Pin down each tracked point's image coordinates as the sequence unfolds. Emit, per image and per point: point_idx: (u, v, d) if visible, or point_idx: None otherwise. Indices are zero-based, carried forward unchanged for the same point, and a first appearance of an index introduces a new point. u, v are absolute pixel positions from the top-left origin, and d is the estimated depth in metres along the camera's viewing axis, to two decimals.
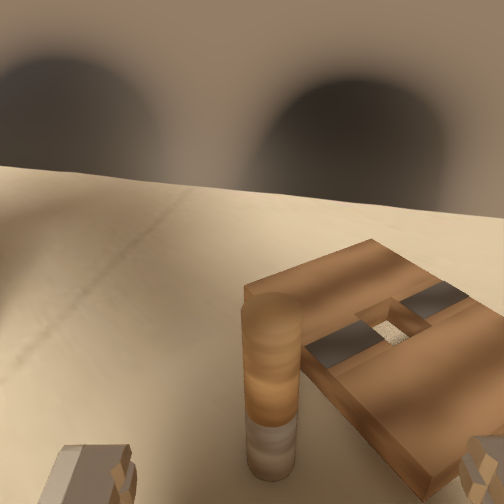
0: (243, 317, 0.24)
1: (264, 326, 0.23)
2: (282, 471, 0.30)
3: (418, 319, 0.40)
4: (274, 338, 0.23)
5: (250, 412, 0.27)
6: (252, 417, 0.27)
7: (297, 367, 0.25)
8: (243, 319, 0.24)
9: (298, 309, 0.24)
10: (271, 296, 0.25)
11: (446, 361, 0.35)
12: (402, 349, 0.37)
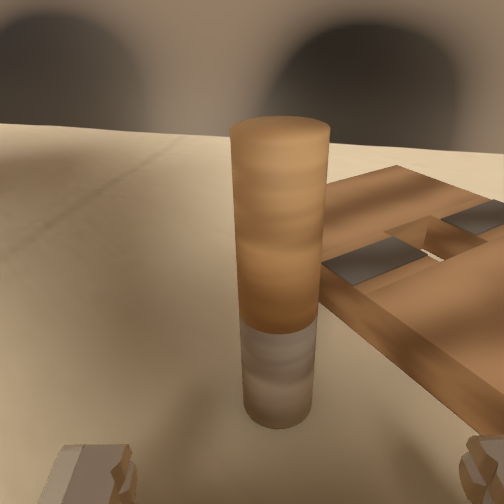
0: (233, 132, 0.15)
1: (267, 138, 0.14)
2: (294, 413, 0.20)
3: (467, 237, 0.31)
4: (283, 156, 0.14)
5: (246, 313, 0.18)
6: (249, 321, 0.18)
7: (319, 228, 0.16)
8: (233, 135, 0.15)
9: (321, 126, 0.15)
10: (278, 118, 0.16)
11: None
12: (453, 265, 0.27)
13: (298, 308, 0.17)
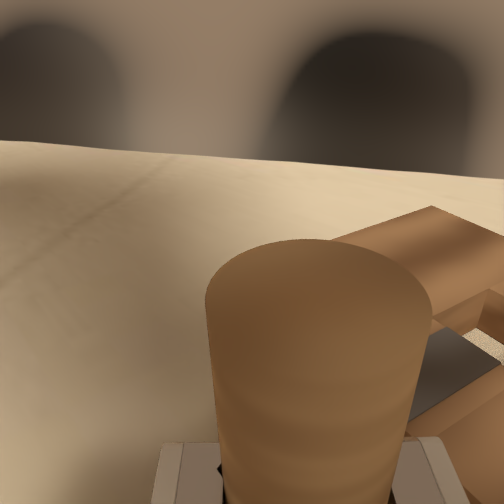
0: (211, 314, 0.06)
1: (290, 349, 0.06)
2: None
3: None
4: (333, 400, 0.06)
5: None
6: None
7: (393, 478, 0.08)
8: (211, 322, 0.06)
9: (406, 287, 0.07)
10: (308, 249, 0.08)
11: None
12: None
13: None
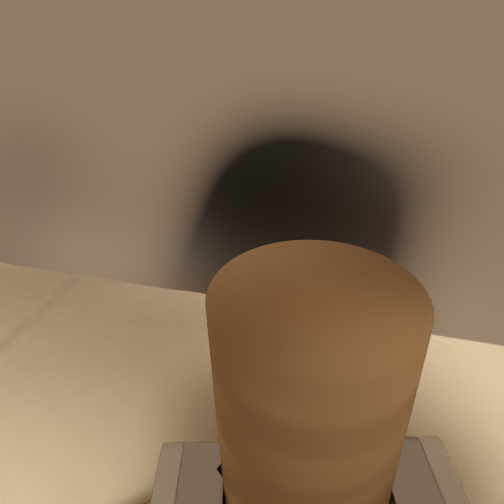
0: (212, 315, 0.06)
1: (291, 351, 0.06)
2: None
3: None
4: (334, 403, 0.06)
5: None
6: None
7: (393, 480, 0.08)
8: (211, 323, 0.06)
9: (407, 288, 0.07)
10: (309, 250, 0.08)
11: None
12: None
13: None
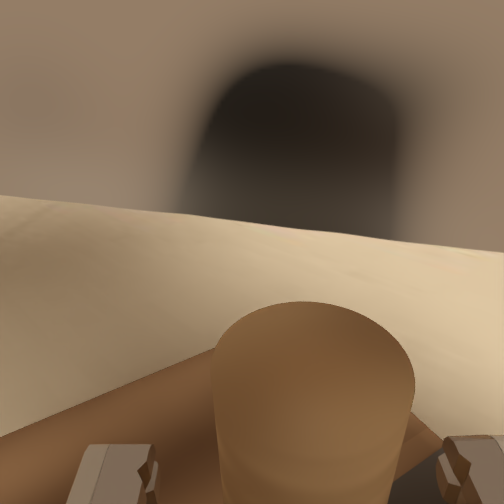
0: (216, 386, 0.07)
1: (287, 424, 0.06)
2: None
3: None
4: (325, 473, 0.06)
5: None
6: None
7: None
8: (216, 393, 0.07)
9: (392, 357, 0.08)
10: (304, 313, 0.09)
11: None
12: None
13: None
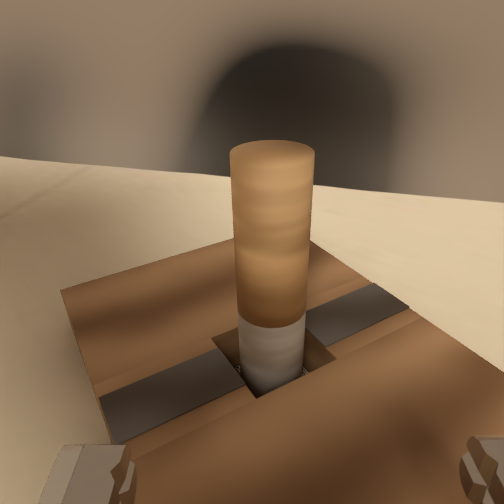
0: (232, 157, 0.17)
1: (260, 162, 0.17)
2: None
3: (318, 346, 0.24)
4: (274, 178, 0.17)
5: (243, 309, 0.21)
6: (246, 316, 0.21)
7: (306, 237, 0.19)
8: (232, 159, 0.17)
9: (307, 150, 0.18)
10: (271, 142, 0.19)
11: (344, 430, 0.19)
12: (270, 405, 0.20)
13: (288, 305, 0.20)
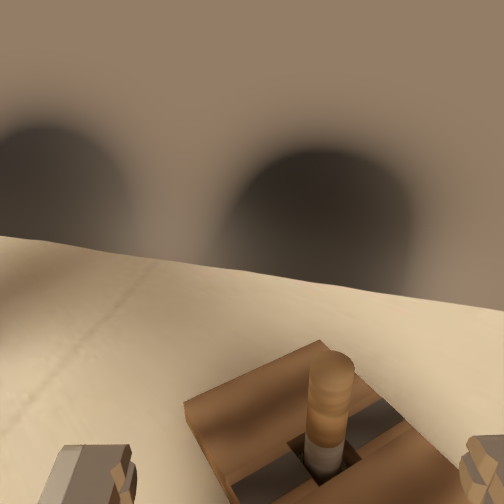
0: (312, 371, 0.34)
1: (328, 378, 0.33)
2: None
3: (350, 448, 0.41)
4: (335, 387, 0.33)
5: (311, 437, 0.37)
6: (313, 440, 0.37)
7: (348, 405, 0.35)
8: (312, 372, 0.34)
9: (350, 365, 0.34)
10: (330, 353, 0.35)
11: None
12: (327, 491, 0.37)
13: (337, 437, 0.36)
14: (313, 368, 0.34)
